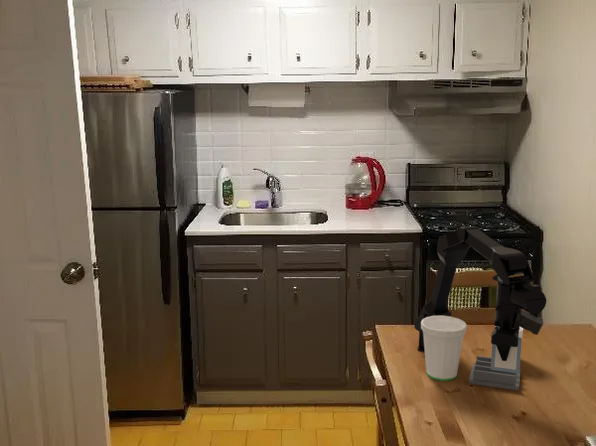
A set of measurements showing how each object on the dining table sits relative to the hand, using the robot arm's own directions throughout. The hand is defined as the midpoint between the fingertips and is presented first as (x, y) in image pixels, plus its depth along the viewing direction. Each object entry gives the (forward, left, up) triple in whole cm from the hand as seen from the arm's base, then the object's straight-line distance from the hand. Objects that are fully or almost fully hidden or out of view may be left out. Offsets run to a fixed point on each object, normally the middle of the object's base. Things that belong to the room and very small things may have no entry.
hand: (504, 359), depth 165 cm
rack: (-3, +13, -11) cm, 17 cm away
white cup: (0, +27, -11) cm, 29 cm away
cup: (-17, +10, -11) cm, 23 cm away
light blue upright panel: (0, 0, -3) cm, 3 cm away
